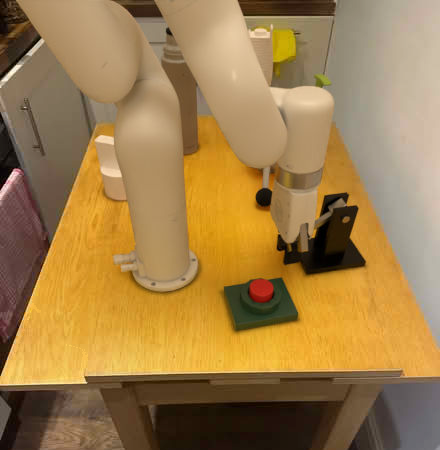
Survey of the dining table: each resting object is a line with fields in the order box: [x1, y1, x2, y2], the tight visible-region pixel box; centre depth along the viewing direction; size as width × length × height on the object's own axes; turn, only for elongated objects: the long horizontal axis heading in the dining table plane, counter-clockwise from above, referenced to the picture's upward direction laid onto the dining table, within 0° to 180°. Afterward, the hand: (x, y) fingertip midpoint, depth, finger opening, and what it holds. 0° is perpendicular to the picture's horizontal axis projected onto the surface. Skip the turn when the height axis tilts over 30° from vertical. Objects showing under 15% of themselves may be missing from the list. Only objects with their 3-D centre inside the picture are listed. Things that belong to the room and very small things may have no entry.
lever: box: [278, 198, 348, 252], centre depth 75 cm, size 14×3×3 cm
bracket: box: [295, 191, 367, 276], centre depth 77 cm, size 12×9×13 cm
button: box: [249, 278, 274, 303], centre depth 69 cm, size 4×4×2 cm
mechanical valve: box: [254, 163, 276, 208], centre depth 97 cm, size 10×18×15 cm
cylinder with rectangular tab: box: [94, 134, 127, 201], centre depth 92 cm, size 9×9×12 cm
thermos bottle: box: [160, 27, 199, 156], centre depth 100 cm, size 8×8×28 cm
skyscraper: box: [248, 23, 274, 87], centre depth 104 cm, size 8×8×28 cm
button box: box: [223, 276, 300, 332], centre depth 71 cm, size 11×9×4 cm
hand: (287, 255), depth 79 cm, fingers closed on lever, 3 cm apart
